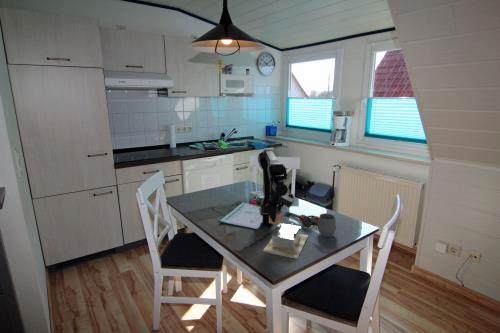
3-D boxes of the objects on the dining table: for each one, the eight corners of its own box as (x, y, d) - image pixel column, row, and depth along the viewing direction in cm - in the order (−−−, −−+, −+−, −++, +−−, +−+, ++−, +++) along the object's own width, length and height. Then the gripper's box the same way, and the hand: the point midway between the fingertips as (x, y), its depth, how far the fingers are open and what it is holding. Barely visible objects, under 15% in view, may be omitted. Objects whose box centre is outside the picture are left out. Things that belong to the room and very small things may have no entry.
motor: (282, 231, 153) (282, 218, 151) (302, 235, 149) (302, 221, 148) (271, 247, 138) (272, 232, 136) (293, 251, 134) (294, 236, 132)
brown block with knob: (272, 219, 146) (272, 206, 144) (282, 220, 144) (282, 208, 142) (268, 223, 142) (268, 210, 140) (278, 224, 140) (278, 211, 138)
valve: (331, 227, 164) (315, 232, 154) (295, 215, 183) (279, 218, 174) (332, 216, 163) (316, 220, 153) (296, 205, 183) (280, 208, 173)
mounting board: (277, 231, 156) (277, 229, 155) (308, 236, 149) (308, 235, 149) (263, 251, 136) (263, 250, 136) (297, 259, 130) (297, 257, 130)
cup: (321, 228, 158) (322, 211, 156) (338, 233, 152) (339, 215, 150) (313, 235, 151) (314, 217, 149) (330, 240, 145) (332, 222, 143)
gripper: (286, 197, 127) (285, 231, 131) (298, 185, 144) (297, 215, 147) (262, 194, 132) (262, 226, 136) (276, 183, 148) (276, 212, 152)
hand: (275, 219), depth 143 cm, fingers closed on brown block with knob, 5 cm apart
